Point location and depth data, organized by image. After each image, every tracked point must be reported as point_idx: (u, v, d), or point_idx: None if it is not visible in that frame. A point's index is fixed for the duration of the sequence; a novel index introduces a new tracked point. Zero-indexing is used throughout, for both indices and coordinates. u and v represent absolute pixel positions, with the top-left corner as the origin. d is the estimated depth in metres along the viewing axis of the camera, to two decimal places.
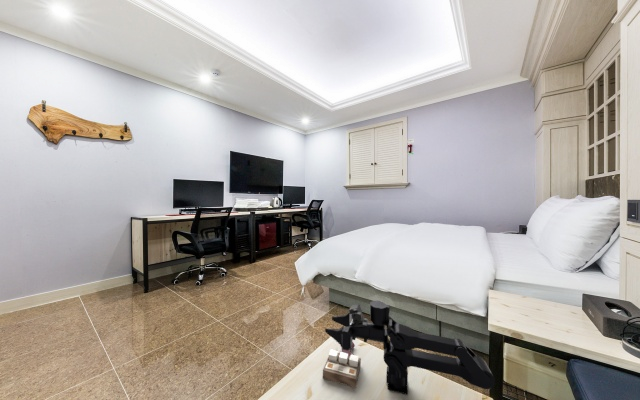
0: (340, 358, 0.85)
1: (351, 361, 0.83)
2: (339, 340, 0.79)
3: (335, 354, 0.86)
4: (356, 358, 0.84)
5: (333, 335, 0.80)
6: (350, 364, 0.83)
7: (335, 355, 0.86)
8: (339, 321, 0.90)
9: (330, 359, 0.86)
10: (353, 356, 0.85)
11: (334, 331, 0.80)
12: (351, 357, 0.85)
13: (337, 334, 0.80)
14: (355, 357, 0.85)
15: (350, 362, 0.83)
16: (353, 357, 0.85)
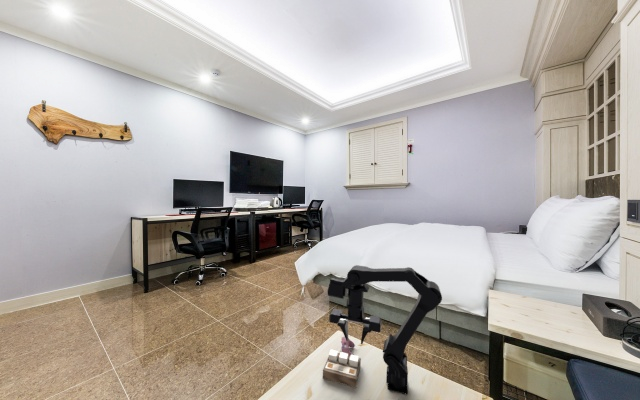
0: (340, 358, 0.85)
1: (351, 361, 0.83)
2: None
3: (335, 354, 0.86)
4: (356, 358, 0.84)
5: None
6: (350, 364, 0.83)
7: (335, 355, 0.86)
8: None
9: (330, 359, 0.86)
10: (353, 356, 0.85)
11: None
12: (351, 357, 0.85)
13: None
14: (355, 357, 0.85)
15: (350, 362, 0.83)
16: (353, 357, 0.85)
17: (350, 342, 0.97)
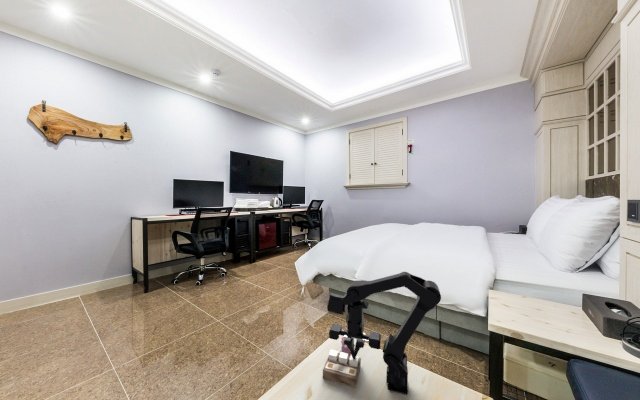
0: (340, 358, 0.85)
1: (351, 361, 0.83)
2: None
3: (335, 354, 0.86)
4: (356, 358, 0.84)
5: None
6: (350, 364, 0.83)
7: (335, 355, 0.86)
8: (354, 351, 0.84)
9: (330, 359, 0.86)
10: None
11: None
12: (351, 357, 0.85)
13: None
14: None
15: (350, 362, 0.83)
16: None
17: None
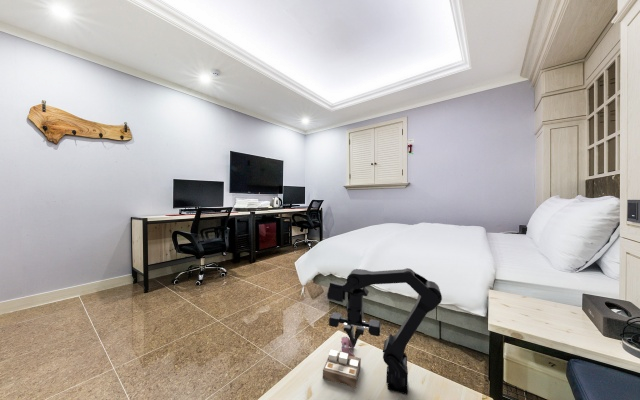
0: (340, 358, 0.85)
1: (351, 365, 0.83)
2: None
3: (335, 354, 0.86)
4: (356, 363, 0.84)
5: None
6: None
7: (335, 355, 0.86)
8: None
9: (330, 359, 0.86)
10: (353, 361, 0.85)
11: None
12: (351, 362, 0.85)
13: None
14: (355, 362, 0.85)
15: None
16: (353, 362, 0.85)
17: (350, 342, 0.97)
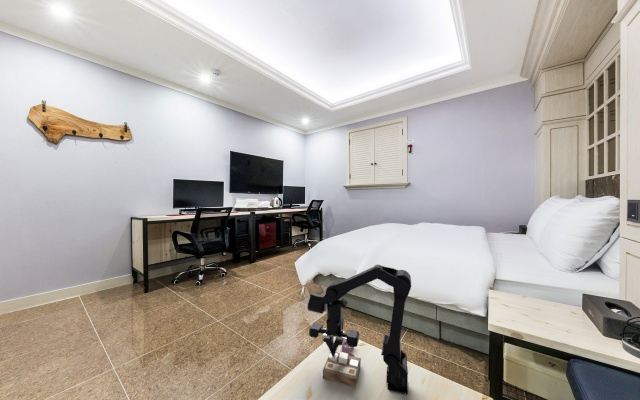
0: (340, 358, 0.85)
1: (351, 365, 0.83)
2: None
3: (335, 357, 0.86)
4: (356, 363, 0.84)
5: None
6: None
7: (335, 358, 0.86)
8: None
9: None
10: (353, 361, 0.85)
11: None
12: (351, 362, 0.85)
13: None
14: (355, 362, 0.85)
15: None
16: (353, 362, 0.85)
17: None
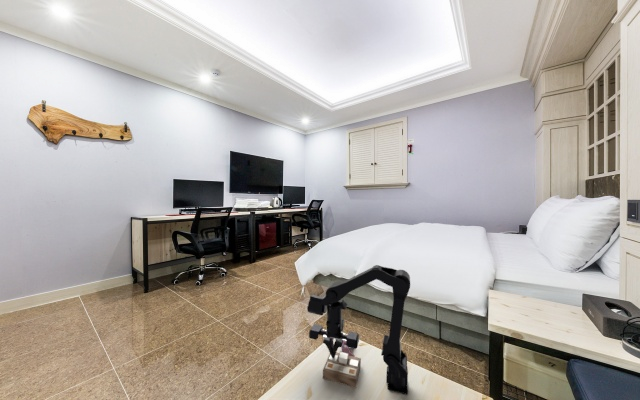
0: (340, 358, 0.85)
1: (351, 365, 0.83)
2: None
3: (335, 358, 0.86)
4: (356, 363, 0.84)
5: None
6: None
7: (335, 360, 0.86)
8: None
9: None
10: (353, 361, 0.85)
11: None
12: (351, 362, 0.85)
13: None
14: (355, 362, 0.85)
15: None
16: (353, 362, 0.85)
17: None
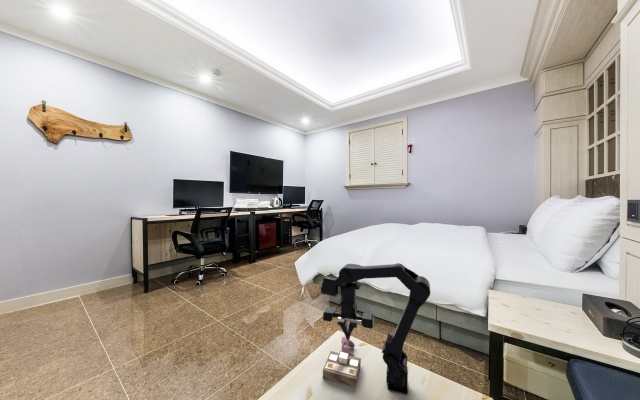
0: (340, 358, 0.85)
1: (351, 365, 0.83)
2: None
3: (335, 358, 0.86)
4: (356, 363, 0.84)
5: None
6: None
7: (335, 360, 0.86)
8: None
9: None
10: (353, 361, 0.85)
11: None
12: (351, 362, 0.85)
13: None
14: (355, 362, 0.85)
15: None
16: (353, 362, 0.85)
17: (350, 342, 0.97)
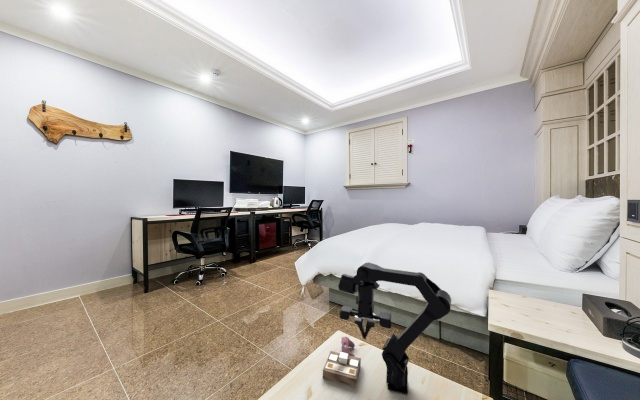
0: (340, 358, 0.85)
1: (351, 365, 0.83)
2: None
3: (335, 358, 0.86)
4: (356, 363, 0.84)
5: None
6: None
7: (335, 360, 0.86)
8: (365, 331, 0.84)
9: None
10: (353, 361, 0.85)
11: None
12: (351, 362, 0.85)
13: None
14: (355, 362, 0.85)
15: None
16: (353, 362, 0.85)
17: (350, 342, 0.97)
